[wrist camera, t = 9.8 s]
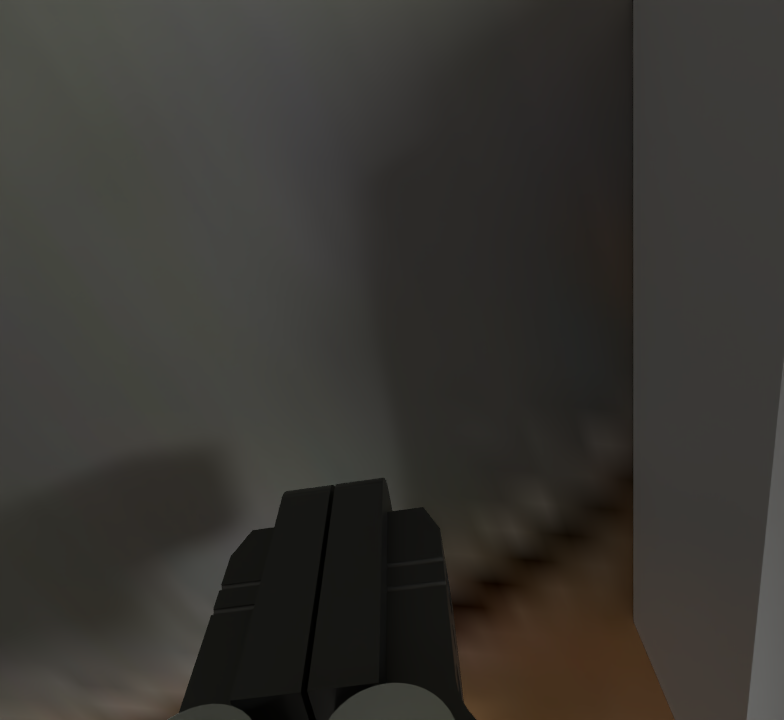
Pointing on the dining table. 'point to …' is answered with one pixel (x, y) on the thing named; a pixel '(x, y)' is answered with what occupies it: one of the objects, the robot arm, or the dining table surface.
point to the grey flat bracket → (709, 353)
